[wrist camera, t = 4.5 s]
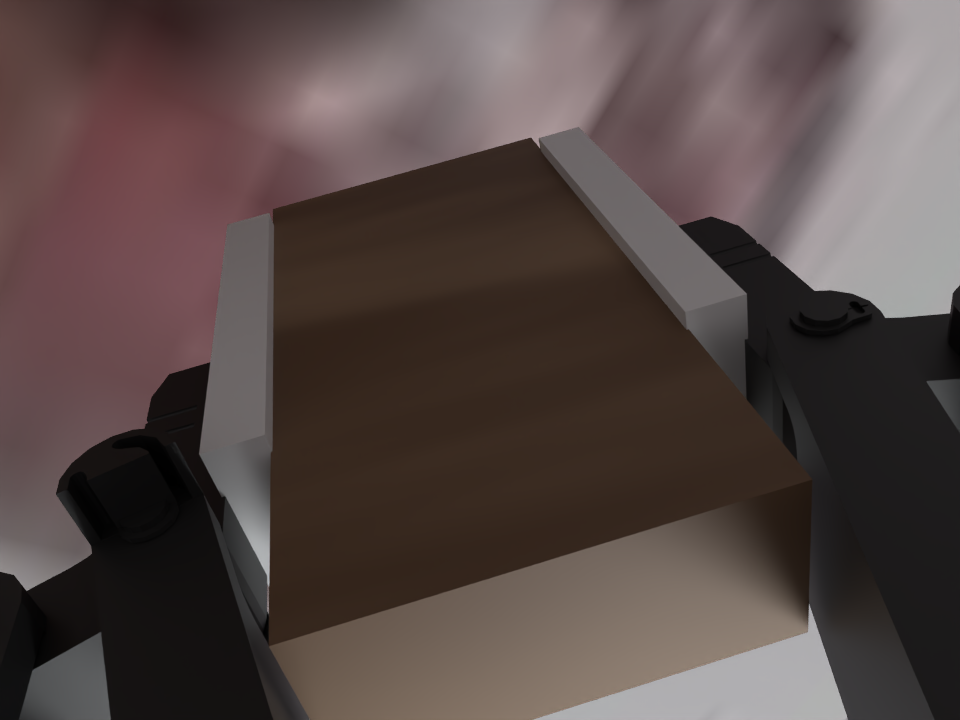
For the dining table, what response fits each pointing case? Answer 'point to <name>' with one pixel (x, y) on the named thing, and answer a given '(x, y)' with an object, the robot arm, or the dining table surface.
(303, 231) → the domino
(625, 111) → the dining table surface
